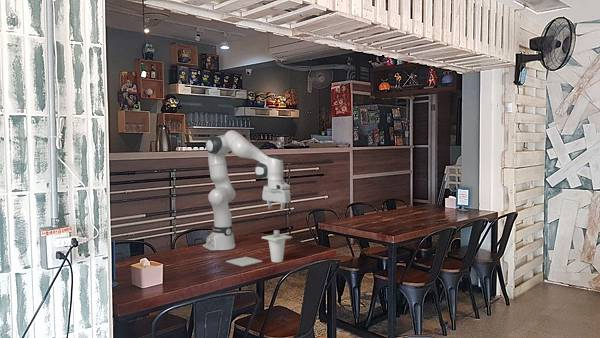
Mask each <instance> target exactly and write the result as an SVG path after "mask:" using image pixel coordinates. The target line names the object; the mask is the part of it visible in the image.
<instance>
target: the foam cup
mask: <svg viewBox="0 0 600 338" xmlns="http://www.w3.org/2000/svg"><path fill="white" fill-rule="evenodd" d="M267 241H268V246H269V253H270V259H271V262H272V263H282V262H283V261H284V254H285V245H286V239H284V240H280V241H272V240H267Z"/></svg>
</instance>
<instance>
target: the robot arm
mask: <svg viewBox="0 0 600 338" xmlns="http://www.w3.org/2000/svg"><path fill="white" fill-rule="evenodd" d="M205 149H206V151H207V152H208V153H207V157H208V158H207V162H208V169H209V175H210V180H211V181H212V183H213V184H214V187H215V188H213V189H212V190H211V191H210V192H209V193H208V195H207V200H208V202H209V203H210V204H211V207H212V213H213V226H212V227H211V229H212V232H211V233H210V234H208V236H206V242H205V243H204V244H202V248H205V249H207V250H210V251H228V250H229V251H230V250H232V249H235V248H236V246H237V244H236V243H235V236H234V233H233V229H234V228H233V221H232V219H233V218H232V217H233V216H232V215H233V214H232V212H231V211H230V206H229V203H230V202H232V201H233V200H234V199H235V197H236V196H237V195H236V190H235V189H234V188H233V185H232V183H231V180H230V177H229V173H228V166H227V160H226V155H227V154H229V155H230V154H232V153H233V154H234V155H235V156H237V157H238V158H241V159H242V158H243V159H251V160H255V161H258V162H257V163H256V164H255V166H254V174H255V176H256V177H257V178H258V179H262V180H263V179H267V183H266V184H264V185H263V189H262V195H261V197H262V201H264V202H265V201H266V203H267V206H268V209H269V210H273V205H272V202H273V203H280V206H279V211H281V212H283V211H284V210H285V209H284V208H285V205H286V204H290V202H291V190H290V189H291V185H290V184H288V183H287V182H285V181H284V172H285V171H284V161H283V158H282V157H280V156H277V155H270V156H269V155H268V154H267V153H265V152H264V151H263V150H261V149H260V148H259V147H257V146H255V145H254V144H253V143H251V141H249V140H247V138H246V137H244V136H243V135H242V134H241V133H239V132H238V131H236V130H232V129H231V130H228V131H227V132H226V133H224V134H222V135H221V134H220V135H217V136H215V135H214V136H211V137H208V138H207V139H206V141H205Z"/></svg>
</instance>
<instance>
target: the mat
mask: <svg viewBox="0 0 600 338" xmlns="http://www.w3.org/2000/svg"><path fill="white" fill-rule="evenodd" d="M225 262H226V263H229V264H232V265H235V266H240V267H246V266H250V265H255V264H260V263H263V260H261V259H256V258H254V257H248V256H243V257H238V258H233V259H229V260H225Z"/></svg>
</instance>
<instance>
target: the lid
mask: <svg viewBox="0 0 600 338" xmlns="http://www.w3.org/2000/svg"><path fill="white" fill-rule="evenodd" d="M261 239H264V240H266V241H268V240H272V241H280V240H284V239H285V240H289V239H293V237H292V236H290V235H285V234H281V233H280V229H275V230H273V234H271V235H265V236H261Z"/></svg>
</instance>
